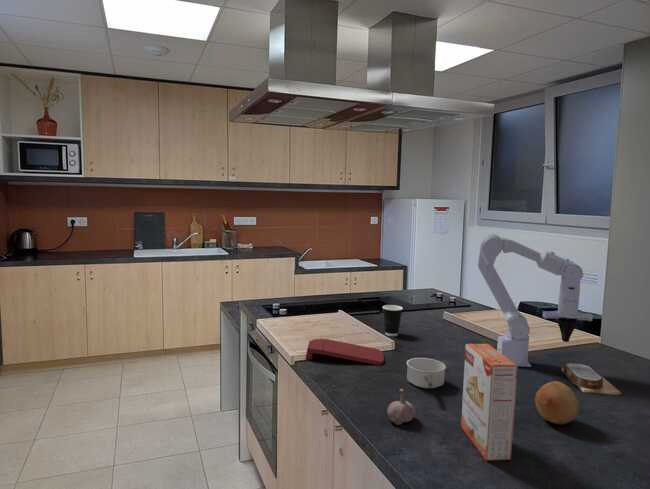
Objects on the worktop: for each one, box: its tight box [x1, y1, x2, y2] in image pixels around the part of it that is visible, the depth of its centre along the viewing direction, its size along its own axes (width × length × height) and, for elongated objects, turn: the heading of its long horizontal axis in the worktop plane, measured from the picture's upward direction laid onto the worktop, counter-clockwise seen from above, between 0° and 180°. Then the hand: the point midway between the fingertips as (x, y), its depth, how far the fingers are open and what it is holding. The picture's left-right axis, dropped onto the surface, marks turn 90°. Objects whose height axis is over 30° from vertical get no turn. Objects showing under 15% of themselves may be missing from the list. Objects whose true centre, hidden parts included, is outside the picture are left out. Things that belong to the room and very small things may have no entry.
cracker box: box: [460, 343, 518, 462], centre depth 102 cm, size 14×6×21 cm, turn 5°
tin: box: [563, 362, 604, 389], centre depth 141 cm, size 15×3×8 cm
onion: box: [534, 380, 581, 425], centre depth 114 cm, size 10×10×10 cm
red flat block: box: [305, 338, 385, 366], centre depth 156 cm, size 12×5×26 cm
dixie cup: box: [382, 304, 404, 337], centre depth 183 cm, size 8×8×11 cm
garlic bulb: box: [386, 388, 416, 426], centre depth 113 cm, size 8×7×8 cm
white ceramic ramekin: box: [406, 357, 447, 389], centre depth 132 cm, size 12×20×6 cm, turn 172°
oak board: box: [560, 367, 622, 396], centre depth 141 cm, size 10×17×1 cm, turn 173°
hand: (565, 340), depth 150 cm, fingers closed
